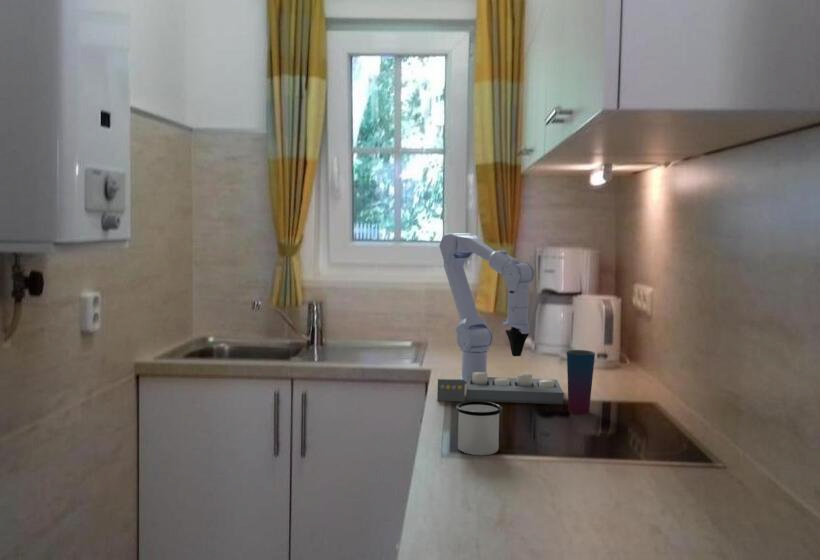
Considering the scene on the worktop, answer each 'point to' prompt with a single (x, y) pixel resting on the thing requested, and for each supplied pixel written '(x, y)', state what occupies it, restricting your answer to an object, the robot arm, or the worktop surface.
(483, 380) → the button
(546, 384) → the button
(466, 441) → the mug
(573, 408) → the cup
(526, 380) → the button
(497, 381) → the button
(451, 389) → the card
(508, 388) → the board
